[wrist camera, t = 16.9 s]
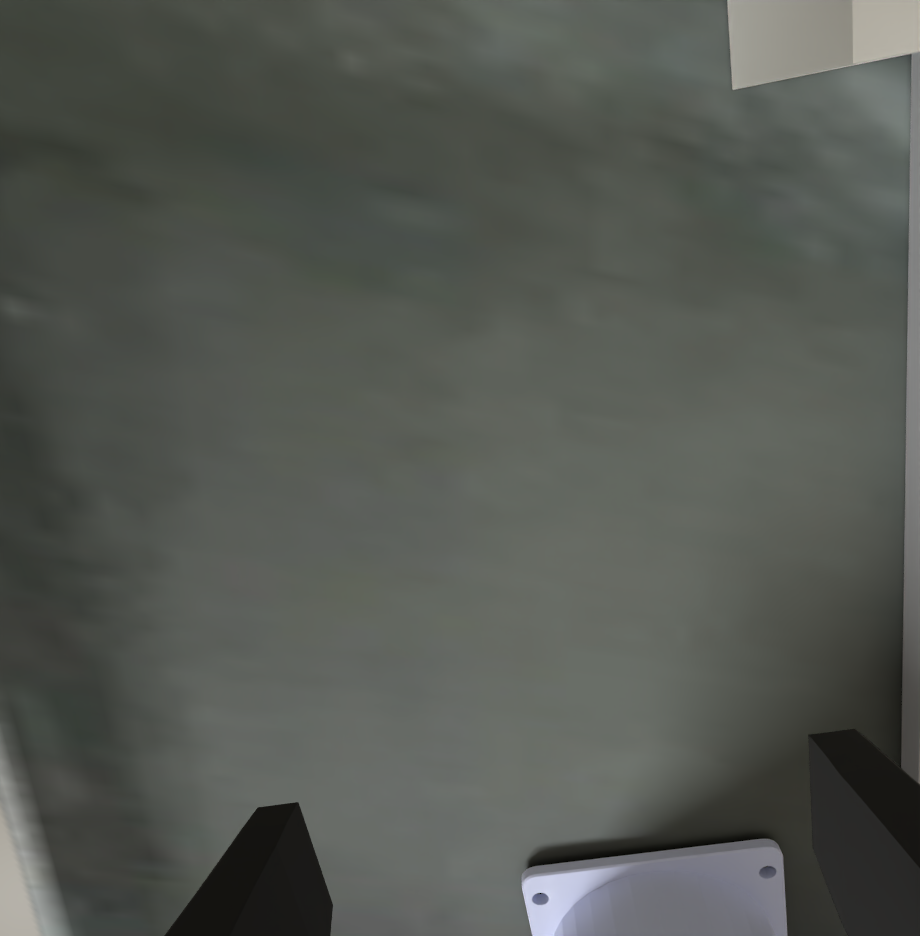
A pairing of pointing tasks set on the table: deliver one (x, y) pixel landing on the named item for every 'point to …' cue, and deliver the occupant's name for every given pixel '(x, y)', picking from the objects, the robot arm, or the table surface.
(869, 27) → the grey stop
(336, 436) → the table surface
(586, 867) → the robot arm
